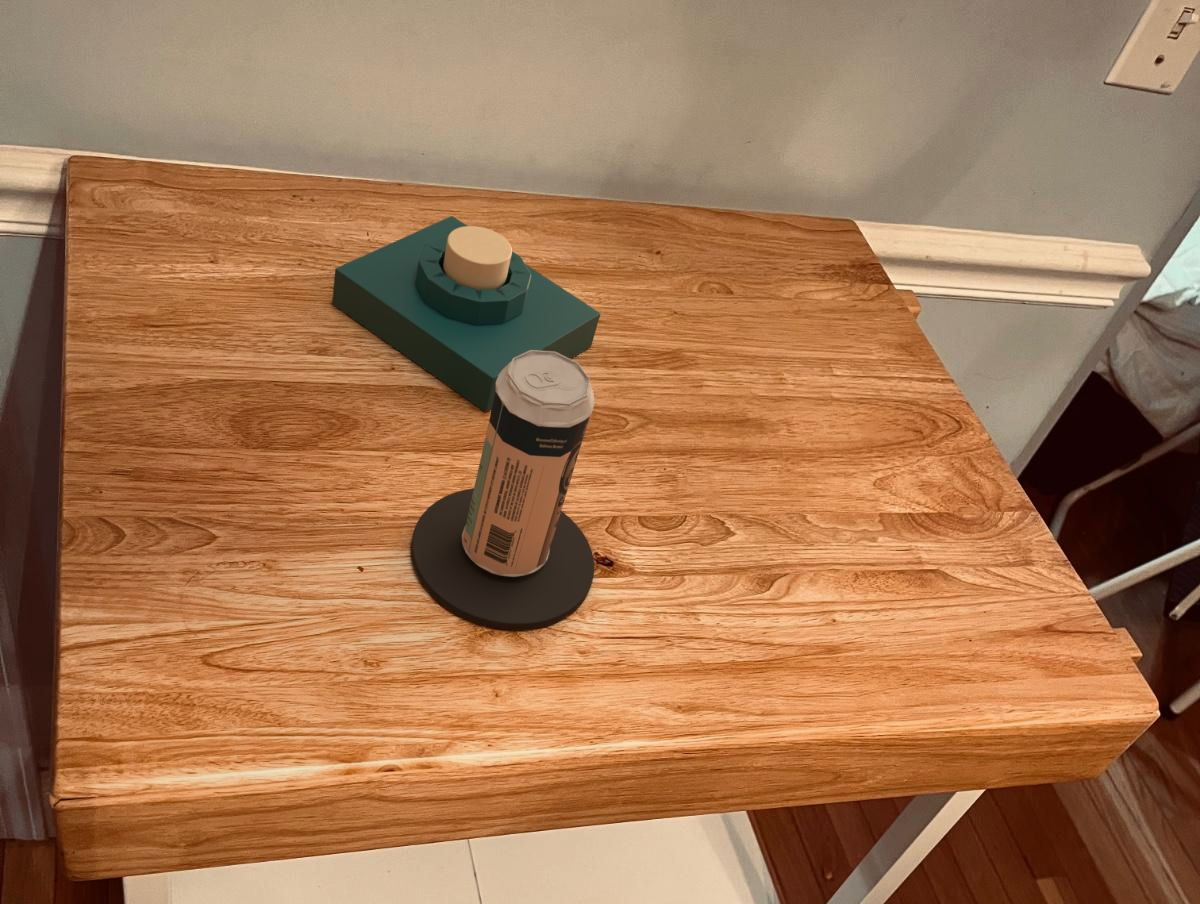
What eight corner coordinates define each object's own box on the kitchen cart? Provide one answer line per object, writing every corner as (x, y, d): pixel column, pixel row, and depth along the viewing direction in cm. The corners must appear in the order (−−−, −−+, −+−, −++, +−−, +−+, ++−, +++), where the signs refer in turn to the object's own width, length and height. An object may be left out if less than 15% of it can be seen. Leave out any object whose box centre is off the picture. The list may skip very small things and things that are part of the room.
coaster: (371, 551, 63) (372, 543, 62) (492, 469, 69) (494, 461, 69) (515, 662, 60) (517, 655, 60) (627, 566, 67) (629, 559, 66)
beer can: (562, 571, 64) (617, 401, 56) (484, 592, 62) (528, 418, 53) (522, 510, 67) (569, 338, 58) (445, 527, 64) (482, 351, 56)
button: (429, 266, 74) (434, 238, 72) (471, 246, 76) (476, 218, 75) (478, 299, 73) (483, 271, 71) (518, 278, 75) (525, 250, 74)
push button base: (331, 304, 76) (337, 243, 72) (446, 249, 83) (455, 191, 79) (485, 412, 72) (498, 354, 69) (591, 346, 79) (607, 290, 76)
